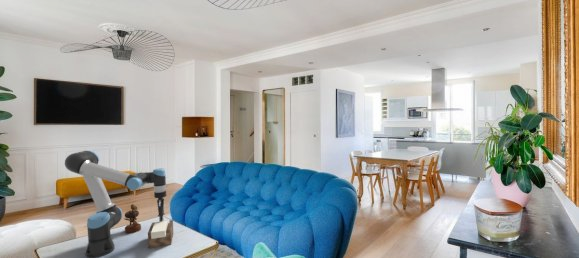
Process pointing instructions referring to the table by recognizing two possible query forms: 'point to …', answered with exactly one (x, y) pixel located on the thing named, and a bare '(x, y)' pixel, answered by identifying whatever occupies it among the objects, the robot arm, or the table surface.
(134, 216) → the music box
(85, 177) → the robot arm
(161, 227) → the thick cream rectangular block
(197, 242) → the table surface
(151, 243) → the brown channel-shaped piece
